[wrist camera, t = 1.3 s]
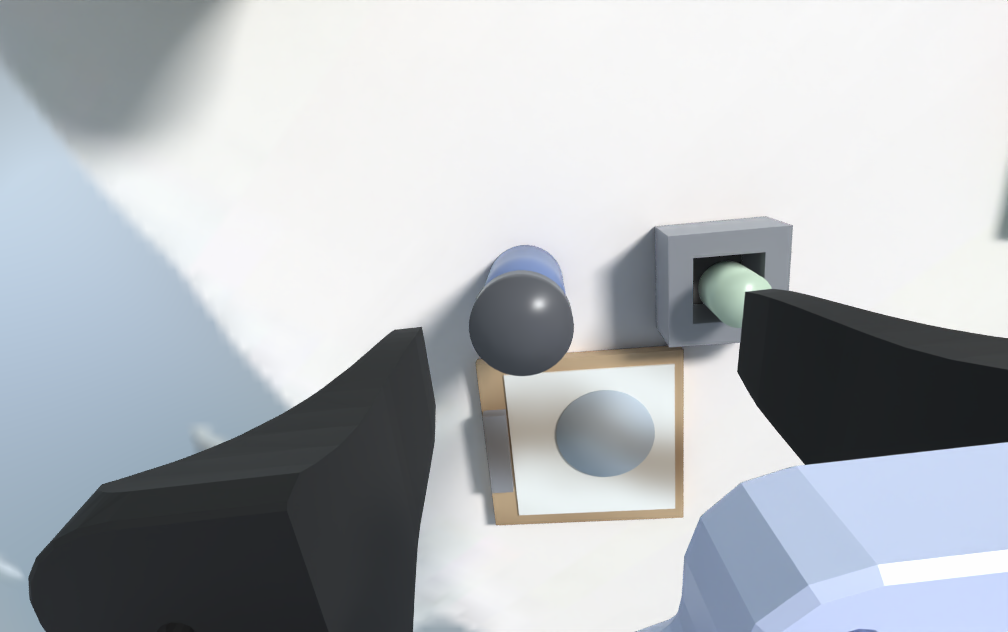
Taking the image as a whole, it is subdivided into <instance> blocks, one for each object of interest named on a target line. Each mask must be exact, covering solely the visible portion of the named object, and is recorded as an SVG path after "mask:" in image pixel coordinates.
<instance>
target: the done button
mask: <svg viewBox="0 0 1008 632" xmlns="http://www.w3.org/2000/svg"><path fill="white" fill-rule="evenodd" d="M766 289H772V288H771V286H770V284H769V283H768V282H767V281H766V280H765V279H764V278H763V277H761V276H759V275H758V274H756V273H755V272H753V271H751V270H750V269H748V268H746V267H745V266H743V265H741V264H740V263H737V262H734V261H721V262H718V263H715V264H713V265H712V266H710V267H709V268H708V269H707V270H706V271H705V272H704V273H703V275H702V276H701V278H700V281H699V285H698V292H699V296H700V299H701V300H702V302H703V303H704V304H705V305H706V306H707V307H708V308H709V309H710V310H711V311H712V312H713V313H714V314H715V315H716V316H717V317H718V318H719V319H720V320H721V321H722V322H723V323H725V324H726V325H728V326H731V327H734V328H742V319H743V308H744V298H745V292H747V291H756V290H766Z"/></svg>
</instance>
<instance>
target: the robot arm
mask: <svg viewBox="0 0 1008 632" xmlns="http://www.w3.org/2000/svg"><path fill="white" fill-rule="evenodd" d="M737 372H738V374H739V376H740V378H741V379H742V381H743V383H744V385H745V387H746V388H747V390H748V392H749V394H750V395H751V397H752V399H753V400H754V402H755V403H756V405H757V407H758V408H759V409H760V410H761V412H762V413H763V414H764V415H765V417H766V418H767V419H768V420H769V422H770V423H771V424H772V425H773V427H774V428H775V429H776V430H777V432H778V433H779V434H780V435H781V436H782V438H783V439H784V440H785V441H786V442H787V444H788V445H789V446H790V447H791V448H792V450H793V451H794V452H795V453H796V454H797V456H798V457H799V458H800V459H801V461H802V462H803V463H804V464H805V465H801V466H794V467H789V468H786V469H782V470H779V471H776V472H773V473H770V474H767V475H763V476H760V477H757V478H754V479H751V480H748V481H744V482H741V483H740V484H739V485H737V486H736V487H735V488H734V489H733V490H731V491H730V492H729V493H728V494H727V495H725V496H724V497H723V498H722V499H721V500H719V501H718V502H717V503H716V504H714V505H713V506H712V507H711V508H710V509H708V510H707V511H706V512H705V513H704V514H703V515H702V516H701V517H700V519H699V522H698V524H697V527H696V529H695V532H694V534H693V536H692V539H691V541H690V544H689V546H688V549H687V551H686V553H685V556H684V570H683V587H682V598H681V602H680V606H679V610H678V613H677V614H676V615H675V616H674V617H672V618H671V619H669V620H666V621H663V622H661V623H658V624H655V625H652V626H650V627H647V628H644V629H641V630H638V631H636V632H1008V338H1001V337H994V336H987V335H981V334H975V333H969V332H963V331H957V330H951V329H946V328H941V327H936V326H931V325H926V324H921V323H917V322H913V321H908V320H904V319H899V318H895V317H891V316H887V315H883V314H879V313H875V312H871V311H867V310H863V309H859V308H855V307H852V306H848V305H844V304H840V303H837V302H833V301H829V300H825V299H822V298H818V297H814V296H810V295H806V294H801V293H797V292H792V291H787V290H780V289H766V290H756V291H747V292H745V298H744V308H743V319H742V329H741V339H740V349H739V360H738V370H737ZM435 409H436V405H435V399H434V393H433V388H432V382H431V376H430V371H429V365H428V359H427V353H426V348H425V342H424V336H423V331H422V327H417V328H408V329H398V330H394V331H392V332H391V333H389V334H388V335H387V336H386V337H384V338H383V339H382V340H381V341H380V342H379V343H377V344H376V345H375V346H374V347H373V348H372V349H371V350H370V351H368V352H367V353H366V354H365V355H364V356H363V357H361V358H360V359H359V360H358V361H357V362H356V363H354V364H353V365H352V366H351V367H350V368H348V369H347V370H346V371H344V372H343V373H342V374H341V375H339V376H338V377H337V378H335V379H334V380H333V381H331V382H330V383H329V384H328V385H326V386H325V387H324V388H322V389H321V390H319V391H318V392H317V393H315V394H314V395H312V396H311V397H309V398H308V399H306V400H304V401H303V402H301V403H300V404H298V405H296V406H295V407H293V408H291V409H290V410H288V411H286V412H285V413H283V414H281V415H279V416H278V417H275V418H273V419H272V420H270V421H267V422H265V423H264V424H262V425H260V426H258V427H256V428H254V429H252V430H250V431H248V432H246V433H244V434H242V435H240V436H237V437H235V438H233V439H231V440H228V441H226V442H224V443H221V444H219V445H217V446H214V447H212V448H209V449H207V450H204V451H202V452H199V453H196V454H194V455H191V456H189V457H186V458H183V459H181V460H178V461H175V462H173V463H169V464H166V465H163V466H160V467H157V468H154V469H151V470H147V471H144V472H141V473H138V474H135V475H132V476H129V477H125V478H122V479H119V480H116V481H112V482H108V483H105V484H102V485H101V486H100V487H99V488H98V489H97V491H96V492H95V493H94V494H93V495H92V496H91V497H90V498H89V499H88V501H87V502H86V503H85V504H84V505H83V506H82V507H81V508H80V509H79V510H78V512H77V513H76V514H75V515H74V516H73V517H72V518H71V519H70V521H69V522H68V523H67V524H66V525H65V526H64V527H63V528H62V529H61V531H60V532H59V533H58V534H57V535H56V536H55V538H53V540H52V541H51V542H50V543H49V544H48V545H47V546H46V547H45V548H44V550H43V551H42V552H41V553H40V554H39V555H38V556H37V558H36V560H35V562H34V565H33V567H32V570H31V572H30V575H29V596H30V601H31V604H32V606H33V608H34V611H35V613H36V615H37V617H38V619H39V621H40V624H41V625H42V627H43V628H44V630H45V631H46V632H413V617H414V596H415V579H416V562H417V547H418V538H419V530H420V523H421V518H422V512H423V506H424V501H425V495H426V489H427V483H428V478H429V472H430V466H431V460H432V454H433V448H434V442H435Z"/></svg>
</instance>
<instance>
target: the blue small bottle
mask: <svg viewBox="0 0 1008 632" xmlns="http://www.w3.org/2000/svg"><path fill="white" fill-rule="evenodd" d="M469 332H470V337H471V341H472V344H473V346H474V348H475V350H476V352H477V353H478V355H479V356H480V357H481V358H482V359H483V360H484V361H485V362H486V363H487V364H488V365H489V366H491V367H492V368H494V369H496V370H498V371H500V372H502V373H505V374H508V375H513V376H531V375H536V374H539V373H542V372H544V371H546V370H548V369H550V368H552V367H553V366H554V365H556V364H557V363H558V362H559V361H560V360H561V359H562V358H563V357H564V355H565V354H566V352H567V351H568V349H569V347H570V344H571V341H572V338H573V332H574V323H573V316H572V311H571V307H570V303H569V301H568V298H567V296H566V294H565V288H564V282H563V276H562V272H561V269H560V267H559V265H558V263H557V261H556V260H555V259H554V257H553V256H551V255H550V254H549V253H548V252H547V251H545V250H543V249H541V248H538V247H535V246H530V245H521V246H516V247H512V248H510V249H508V250H506V251H505V252H503V253H502V254H501V255H500V256H499V257H498V258H497V259H496V260H495V262H494V263H493V265H492V267H491V270H490V272H489V275H488V278H487V280H486V283H485V286H484V288H483V289H482V290H481V292H480V293H479V295H478V297H477V299H476V301H475V304H474V306H473V309H472V312H471V315H470V321H469Z"/></svg>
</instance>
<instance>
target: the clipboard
mask: <svg viewBox="0 0 1008 632" xmlns="http://www.w3.org/2000/svg"><path fill="white" fill-rule="evenodd" d="M683 359H684V350H683V349H682V347H669V346H657V347H643V348H629V349H615V350H600V351H586V352H572V353H566V354H565V355H564V357H563V358H562V359H561V360H560V361H559V362H558V363H557V364H556V365H554V366H553V367H552V368H550V369H548V370H546V371H544V372H542V373H539V374H536V375H531V376H513V375H508V374H505V373H502V372H500V371H498V370H496V369H494V368H492V367H491V366H489V365H488V364H487V363H486V362H485V361H484V360H483V359H477V362H476V370H477V378H478V386H479V394H480V402H481V410H482V418H483V426H484V434H485V441H486V449H487V457H488V465H489V473H490V481H491V489H492V497H493V505H494V513H495V520H496V525H515V524H539V523H563V522H586V521H610V520H634V519H658V518H682V517H683Z"/></svg>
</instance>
